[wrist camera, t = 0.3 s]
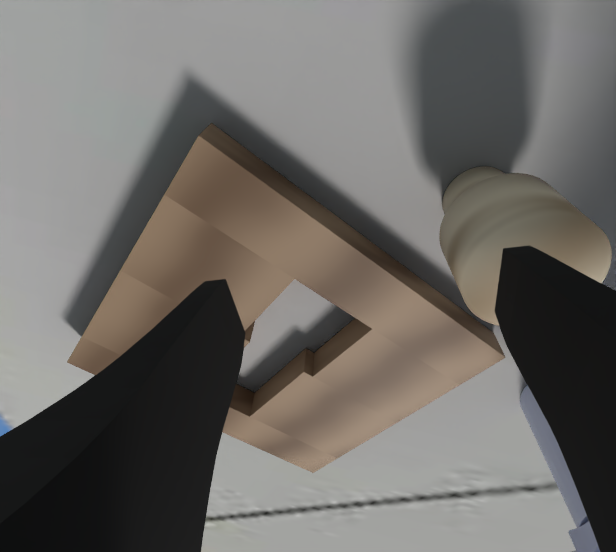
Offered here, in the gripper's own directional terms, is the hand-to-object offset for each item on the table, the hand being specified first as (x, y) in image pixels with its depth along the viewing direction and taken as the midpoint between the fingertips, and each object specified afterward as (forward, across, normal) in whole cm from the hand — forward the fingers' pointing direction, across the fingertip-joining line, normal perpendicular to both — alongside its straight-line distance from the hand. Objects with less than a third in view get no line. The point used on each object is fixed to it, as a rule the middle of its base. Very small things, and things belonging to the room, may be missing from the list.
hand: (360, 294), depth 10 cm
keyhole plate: (+10, +6, +10) cm, 15 cm away
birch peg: (+10, -6, +2) cm, 12 cm away
